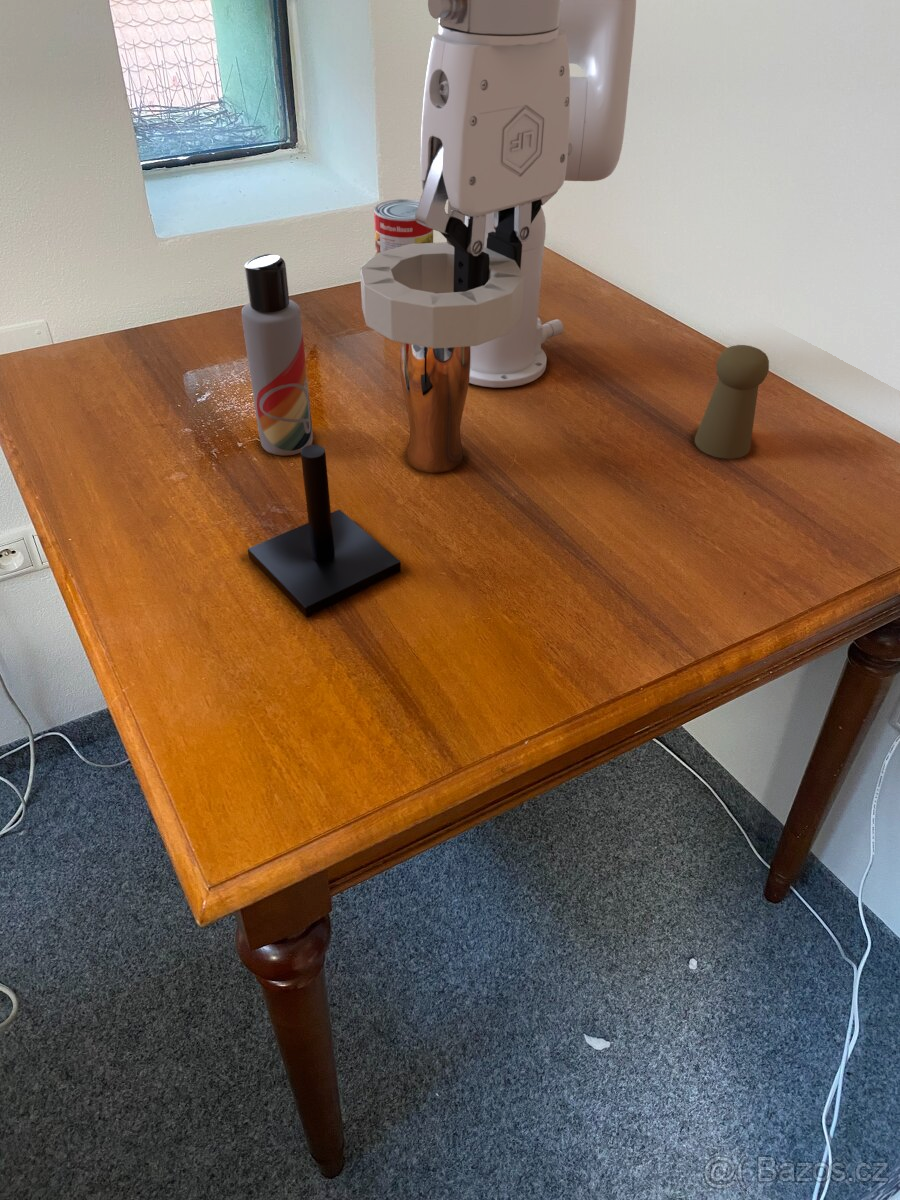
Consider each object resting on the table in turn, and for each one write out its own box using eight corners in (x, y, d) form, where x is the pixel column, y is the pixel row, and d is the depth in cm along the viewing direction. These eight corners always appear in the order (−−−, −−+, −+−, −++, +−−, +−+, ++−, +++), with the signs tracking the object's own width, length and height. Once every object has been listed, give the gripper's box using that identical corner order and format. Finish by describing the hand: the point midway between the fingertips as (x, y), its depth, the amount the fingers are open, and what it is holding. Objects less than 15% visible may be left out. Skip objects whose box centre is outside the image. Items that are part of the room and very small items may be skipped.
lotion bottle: (303, 460, 93) (282, 272, 79) (252, 453, 93) (223, 266, 80) (320, 432, 97) (303, 250, 83) (271, 426, 98) (246, 244, 84)
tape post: (340, 518, 85) (330, 407, 77) (401, 571, 79) (398, 457, 71) (248, 558, 80) (228, 444, 72) (306, 617, 75) (291, 501, 67)
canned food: (435, 287, 127) (436, 200, 118) (429, 310, 121) (430, 220, 113) (381, 284, 127) (378, 197, 119) (373, 307, 121) (369, 217, 113)
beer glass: (475, 447, 95) (481, 314, 85) (454, 481, 90) (458, 345, 80) (415, 434, 97) (414, 303, 87) (392, 468, 92) (388, 333, 82)
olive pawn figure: (754, 437, 98) (781, 345, 90) (744, 464, 94) (771, 369, 86) (701, 424, 100) (723, 333, 92) (688, 450, 95) (710, 356, 88)
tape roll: (450, 269, 70) (451, 231, 68) (551, 318, 64) (555, 278, 62) (333, 306, 65) (330, 266, 63) (429, 363, 58) (429, 320, 56)
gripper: (437, 30, 48) (435, 344, 61) (632, 4, 56) (594, 286, 68) (357, 10, 52) (370, 307, 65) (549, -12, 60) (528, 257, 73)
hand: (486, 294), depth 66 cm, fingers closed on tape roll, 2 cm apart
